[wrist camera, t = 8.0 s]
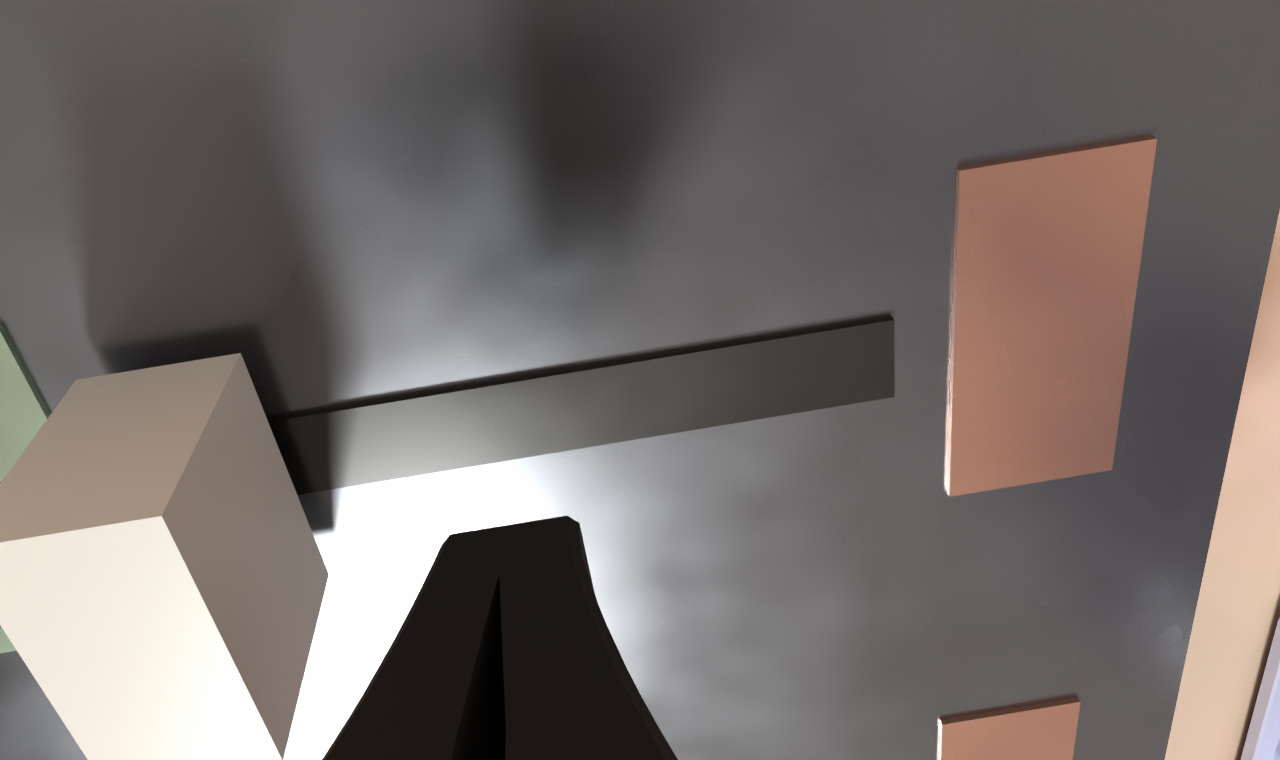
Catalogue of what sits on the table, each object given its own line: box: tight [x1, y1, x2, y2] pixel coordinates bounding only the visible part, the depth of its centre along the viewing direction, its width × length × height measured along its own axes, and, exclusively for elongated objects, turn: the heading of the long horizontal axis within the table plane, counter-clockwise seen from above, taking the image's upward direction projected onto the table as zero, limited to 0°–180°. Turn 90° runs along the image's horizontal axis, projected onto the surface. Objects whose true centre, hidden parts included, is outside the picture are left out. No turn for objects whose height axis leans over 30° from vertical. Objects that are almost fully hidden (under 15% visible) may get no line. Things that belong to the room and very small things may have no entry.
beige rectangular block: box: [0, 353, 329, 760], centre depth 12 cm, size 2×4×3 cm, turn 7°
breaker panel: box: [0, 0, 1280, 760], centre depth 17 cm, size 20×24×2 cm
